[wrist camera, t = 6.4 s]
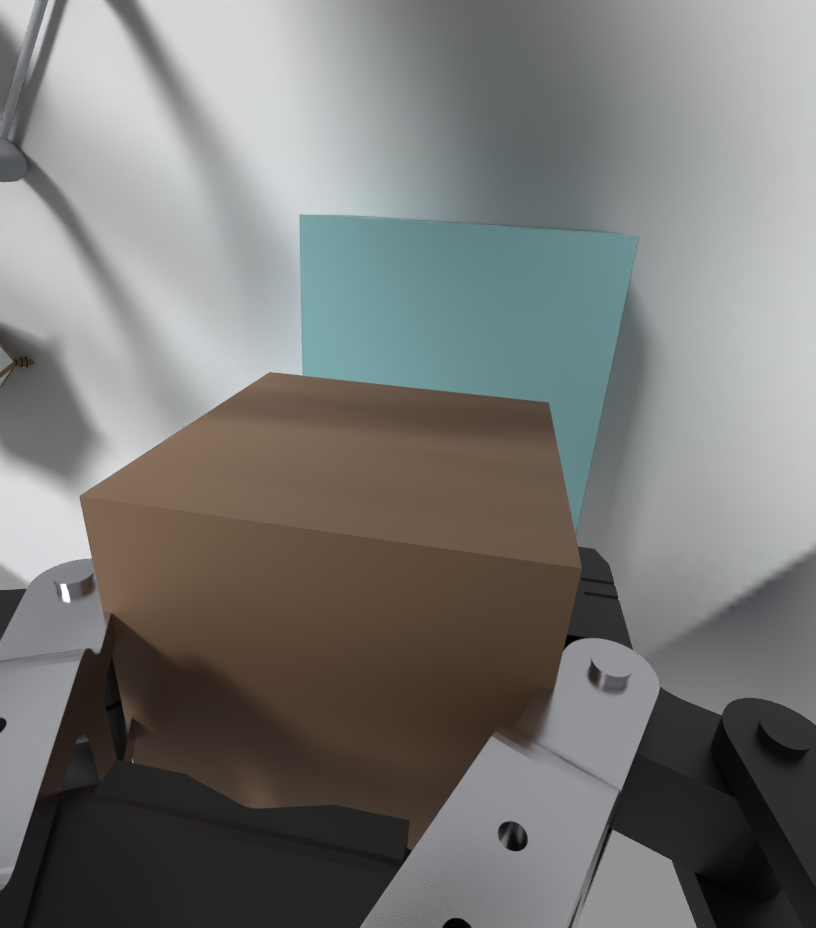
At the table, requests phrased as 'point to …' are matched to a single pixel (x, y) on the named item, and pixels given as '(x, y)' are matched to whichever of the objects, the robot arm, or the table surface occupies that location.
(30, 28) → the newton's cradle
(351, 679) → the walnut cube
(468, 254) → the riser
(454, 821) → the robot arm
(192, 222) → the table surface
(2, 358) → the game die
